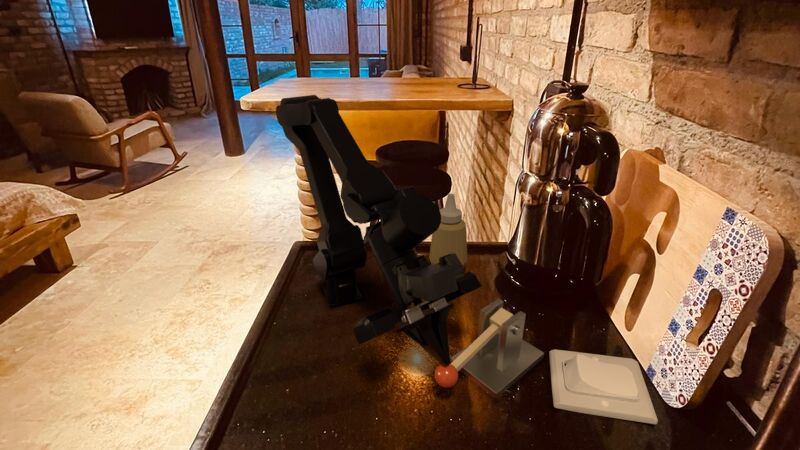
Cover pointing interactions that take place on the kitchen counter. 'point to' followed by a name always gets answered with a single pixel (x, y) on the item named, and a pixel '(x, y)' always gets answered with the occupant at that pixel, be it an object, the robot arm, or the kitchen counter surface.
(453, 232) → the squeeze bottle
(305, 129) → the robot arm
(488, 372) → the bracket
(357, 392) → the kitchen counter surface
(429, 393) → the kitchen counter surface
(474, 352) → the lever
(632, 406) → the light switch
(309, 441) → the kitchen counter surface
